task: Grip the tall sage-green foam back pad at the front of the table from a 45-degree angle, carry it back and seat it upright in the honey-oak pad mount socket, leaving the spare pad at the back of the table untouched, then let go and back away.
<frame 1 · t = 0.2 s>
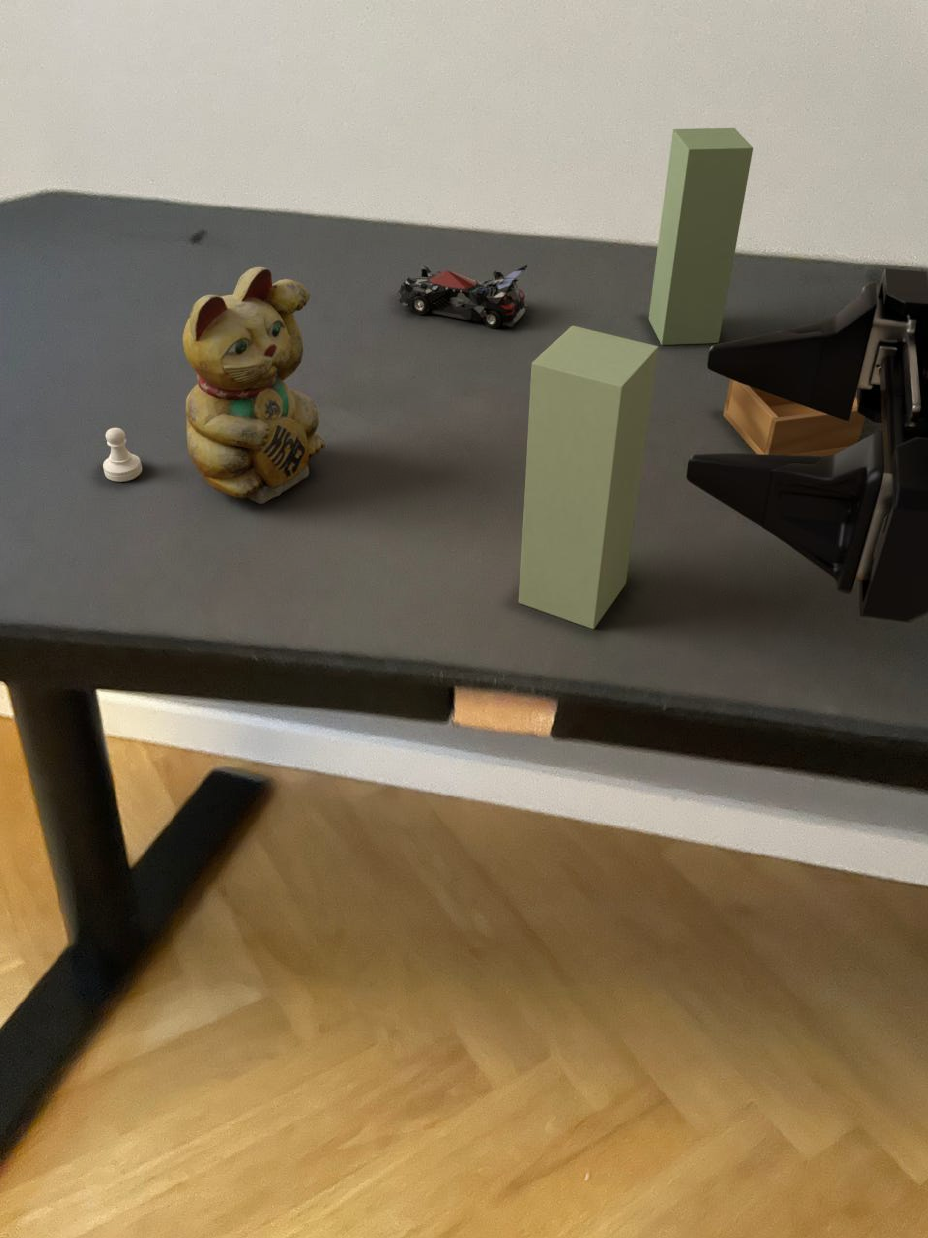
hand: (698, 408, 47), 18 cm above the table, tool horizontal, fingers open, 9 cm apart
toy car: (458, 311, 96), on the table
pad mount: (787, 433, 80), on the table
back pad: (572, 593, 65), on the table
chess pawn: (124, 474, 75), on the table
decorative figurine: (254, 478, 75), on the table
spare pad: (682, 330, 93), on the table
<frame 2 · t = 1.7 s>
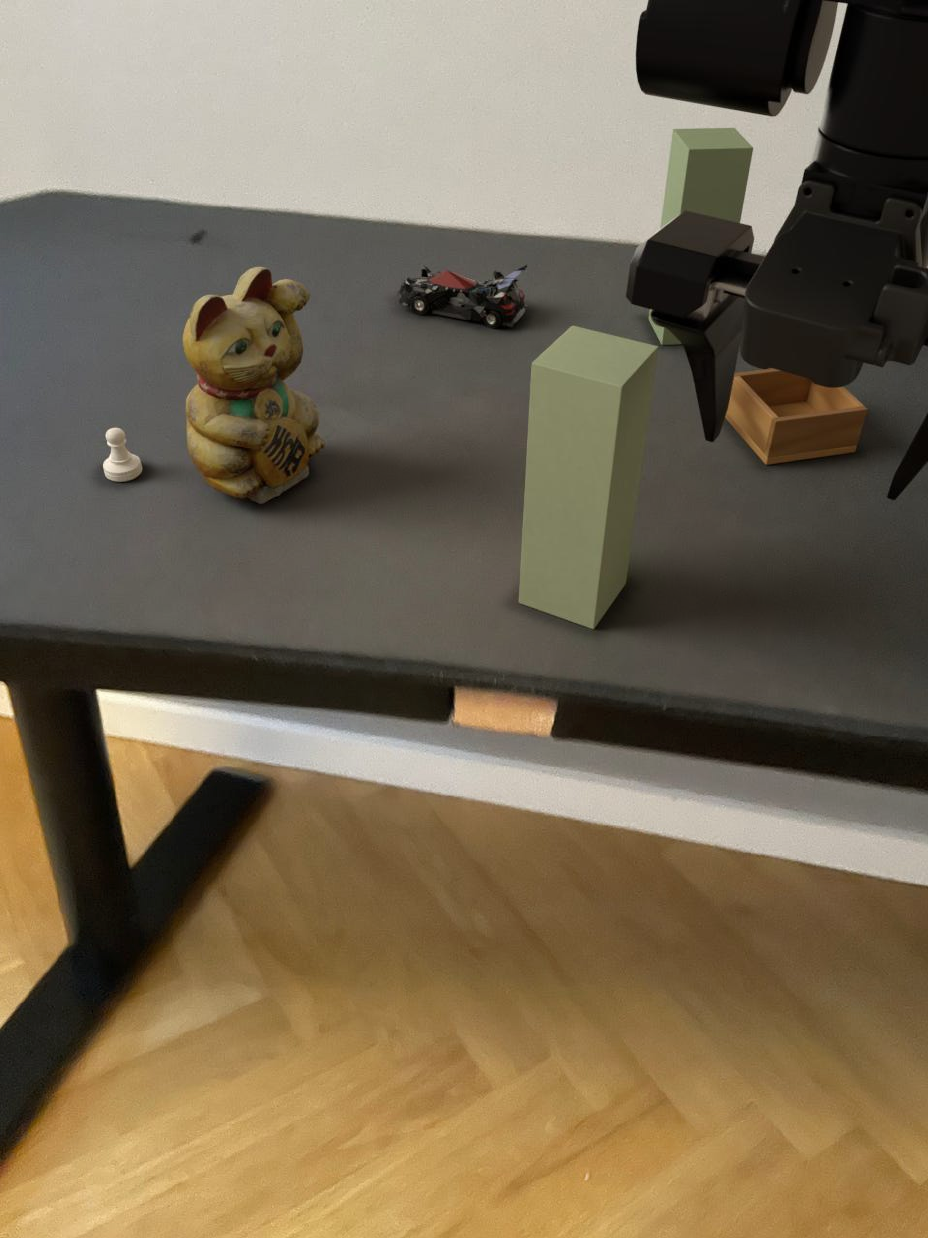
hand: (799, 465, 53), 13 cm above the table, tool pointing down, fingers open, 9 cm apart
nothing on the table moved.
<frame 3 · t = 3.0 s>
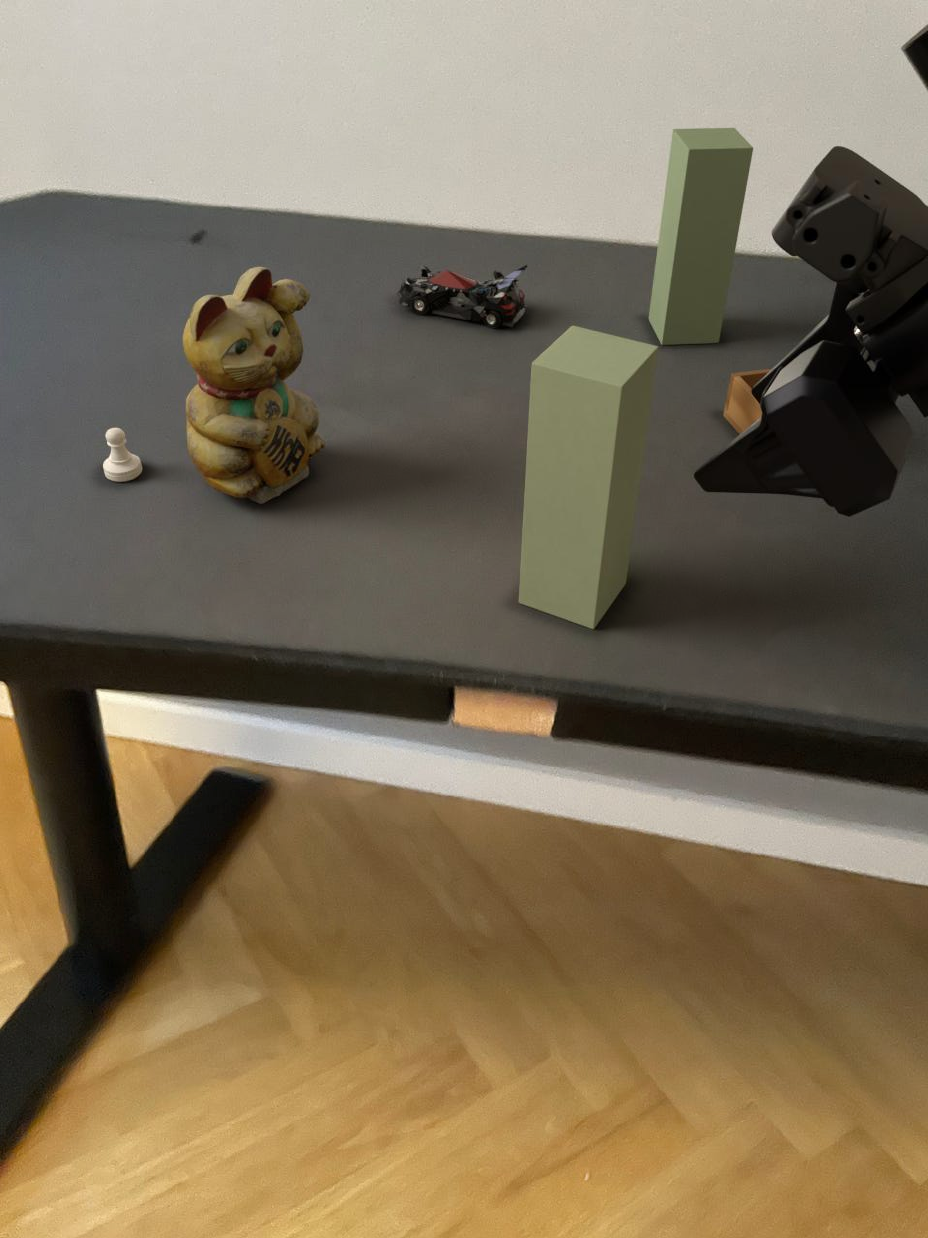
hand: (729, 437, 54), 13 cm above the table, tool tilted 45°, fingers open, 9 cm apart
nothing on the table moved.
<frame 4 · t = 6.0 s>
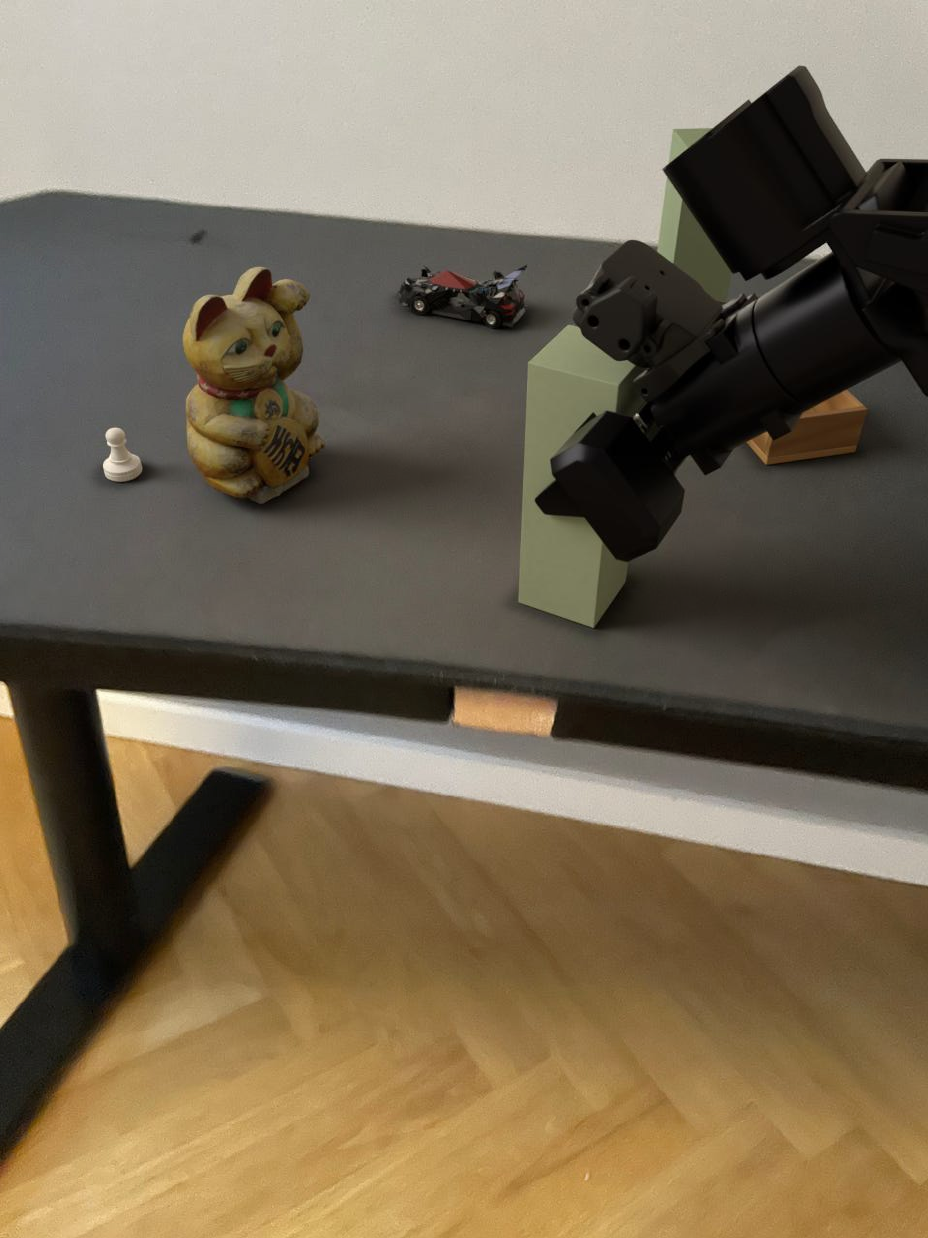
hand: (560, 483, 61), 8 cm above the table, tool tilted 45°, fingers closed on back pad, 5 cm apart
back pad: (572, 592, 65), on the table, touching gripper
everything else where it was.
when the fingers open (8 cm above the table, at t = 14.1 s): back pad stays where it is, resting on pad mount.
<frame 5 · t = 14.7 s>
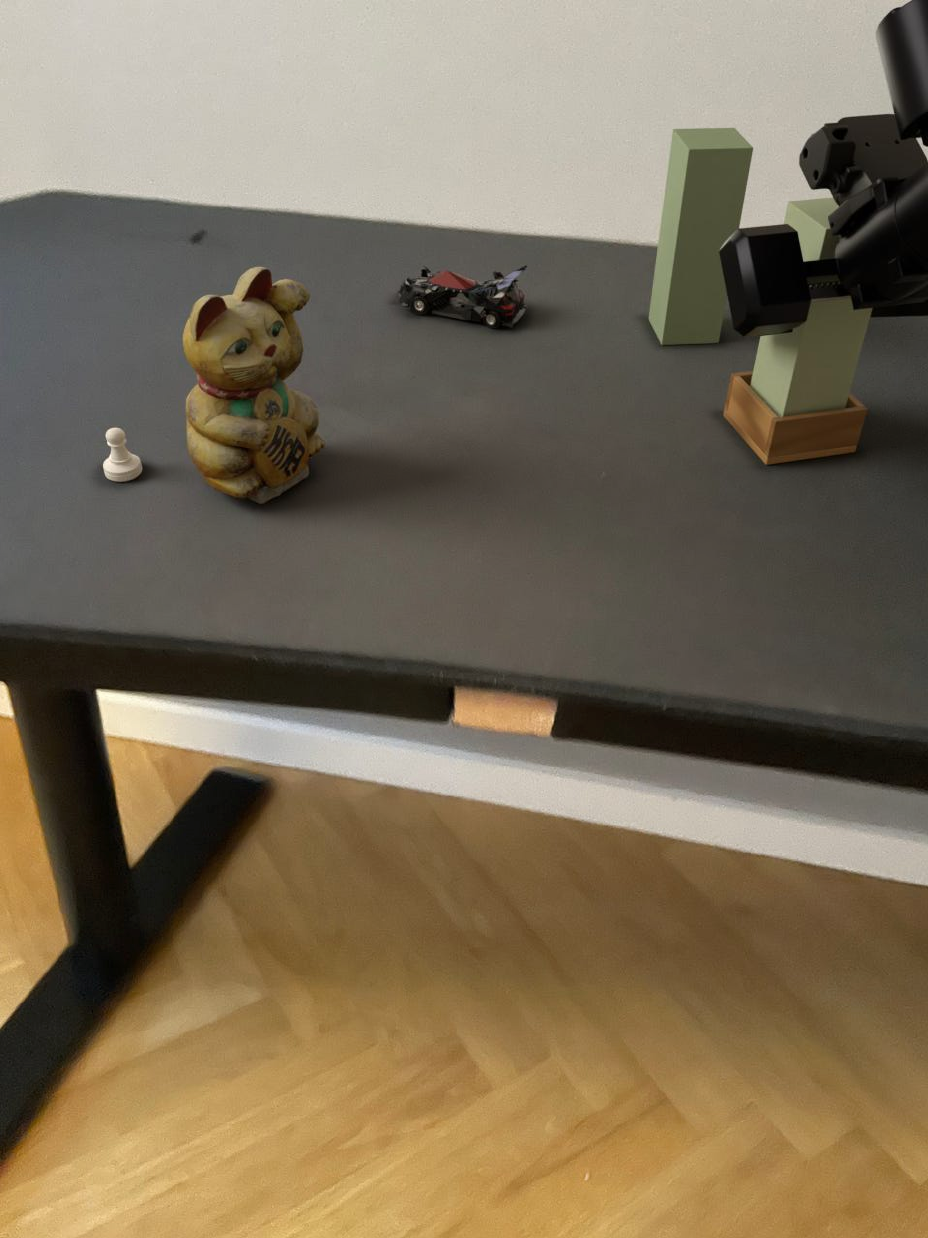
hand: (803, 317, 75), 9 cm above the table, tool tilted 45°, fingers open, 9 cm apart
back pad: (789, 426, 80), point 1 cm above the table, touching pad mount
everything else where it was.
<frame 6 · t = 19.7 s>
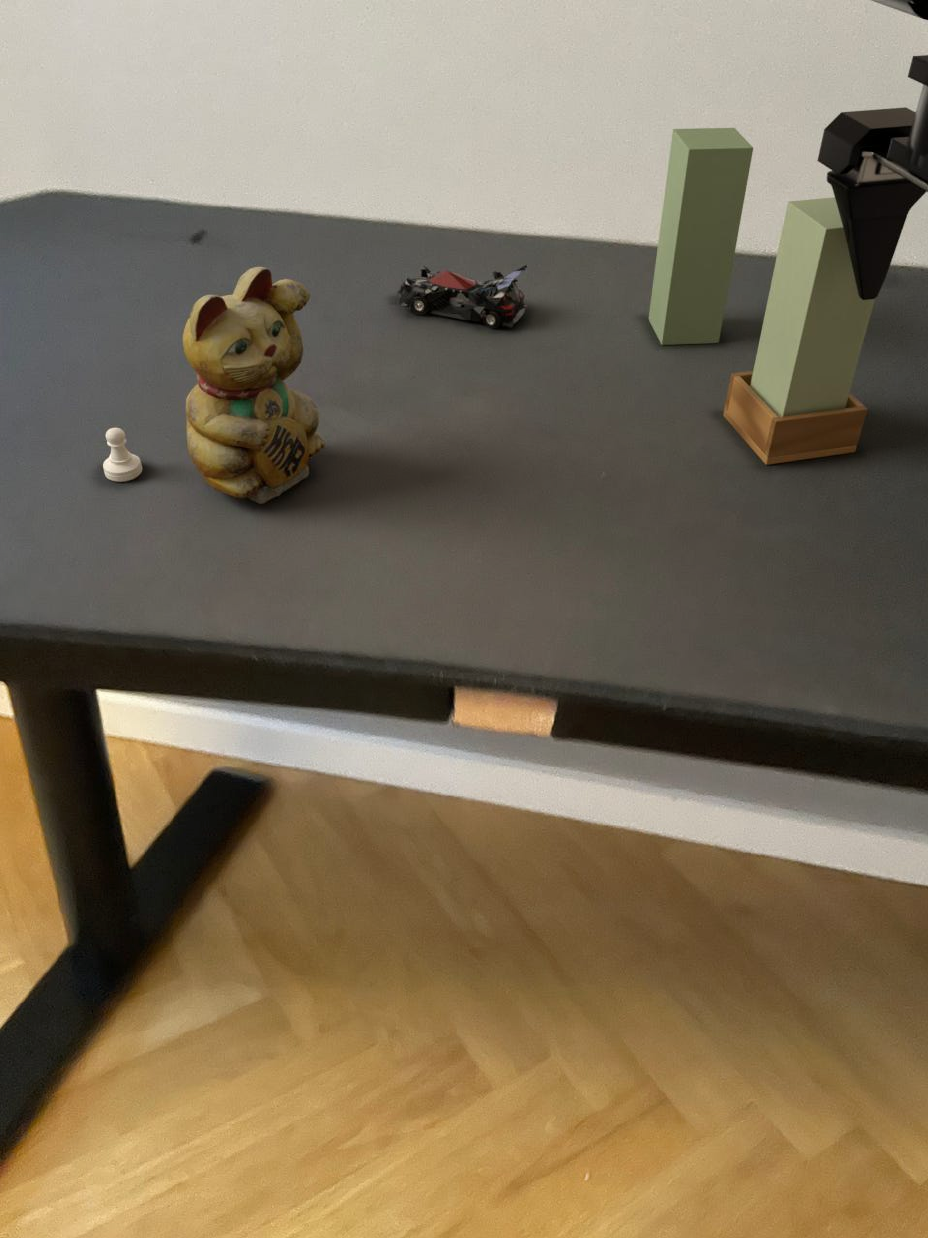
hand: (908, 330, 64), 13 cm above the table, tool pointing down, fingers open, 9 cm apart
nothing on the table moved.
at the end: back pad 0.0 cm off-centre in the pad mount, point 0.6 cm above the pad mount's base; back pad tilted 0°; spare pad moved 0.0 cm from its start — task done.
